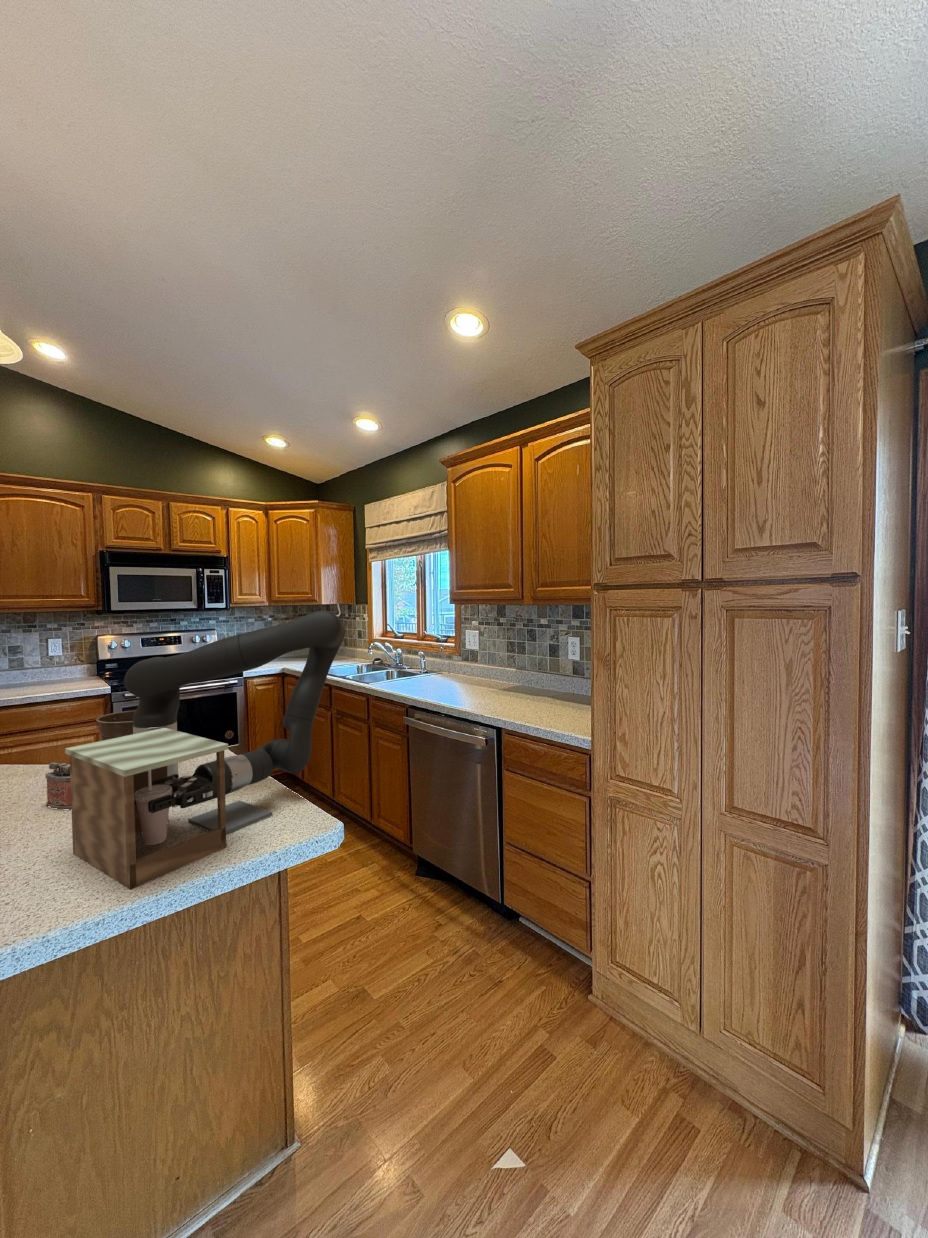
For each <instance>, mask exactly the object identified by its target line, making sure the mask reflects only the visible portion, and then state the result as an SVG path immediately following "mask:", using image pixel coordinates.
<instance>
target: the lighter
mask: <svg viewBox="0 0 928 1238" xmlns="http://www.w3.org/2000/svg"><path fill="white" fill-rule="evenodd" d="M48 769H49V770H53V771H49V772H47V773H45V779H46V793H47V794H46V796H47V799H46V801H47V802H46V803H45V804H46V807H47V806H50V807H51V808H57V809H71V780H70V764H69V765H68V763H67V762H63V763H59V762H50V763H49V765H48ZM51 808H50V809H51Z"/></svg>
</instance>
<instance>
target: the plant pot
mask: <svg viewBox="0 0 928 1238" xmlns="http://www.w3.org/2000/svg"><path fill="white" fill-rule="evenodd" d="M136 710H137V709H134V710H125V711H118V712H112V713H107V714H105V715H100V716H98V717H97V718H96V719H95V720H96V723H98V728H99V734H100V735H101V739H102V740H101V741H103V740H108V739H113V738H118V737H122V736H127V735H132V734H133V715H134V713H135V711H136Z"/></svg>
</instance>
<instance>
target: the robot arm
mask: <svg viewBox="0 0 928 1238" xmlns="http://www.w3.org/2000/svg"><path fill="white" fill-rule="evenodd" d="M345 635H346V629H345V625H344V623H343V621H341V619H340V617H339V616H338V615H337V614H335V613H334V612H333V611H329V610H324V609H323V610H316V611H314V612H311V613H308V614H305V615H303V616H300V617H298V618H295V619H293V620H290V621H288V622H285V623H281V624H277V625H273V626H267V627H263V628H259V629H255V630H252V631H251V630H250V631H247V632H242V633H239V634H234V635H231V636H227V637H224V638H221V639H219V640H215V641H213V642H210V643H208V644H204V645H201V646H199V647H197V648H194V649H192V650H189V651H187V652H182V653H180V654H175V655H171V656H166V657H164V656H155V657H151V658H146V659H143V660H139V661H137V662H136V663H134V664H133V665H131V667H129V669H128V670H127V671H126V672H125V675H124V678H123V683H124V687H125V689H126V691H127V692H128V693H130V694H131V695H133V696H135V697H136V698H137V697H138V698H139V701H138V705H137V708H136V709H135V710H136V711H135V713H134V715H133V734H137V733H142V732H147V731H152V730H156V729H161V728H168V729H172V730H176V731H178V722H177V721H178V719H177V718H178V711H179V708H180V696H181V695H180V694H181V692H180V689H181V687H183V686H185V685H189V684H193V683H196V682H201V681H206V680H214V679H218V678H224V677H228V676H232V675H238V674H240V673H245V672H247V671H251V670H254V669H257V668H260V667H263V666H264V665H267V664H269V663H271V662H272V661H274V660H277V659H278V658H280V657H282V656H283V655H286V654H289V653H291V652H292V653H293V652H295V651H300V650H304V649H308V655H307V659H306V661H305V662H306V663H305V664H304V667H303V669H302V671H301V674H300V676H299V678H298V680H297V681H296V684H295V685H294V688H293V689H292V692H291V694H290V697H289V700H288V703H287V707H286V710H285V713H284V716H283V721H282V725H283V727H284V729H286V730H288V731H289V739H287V738H279V739H274V740H271V741H269V742H266V743H265V744H263V745H261V746H260V747H258V748H256V749H255V750H251V751H248V752H243V753H241V754H237V755H230V756H227V757H224V759H225V796H226V795H228V794H232V793H234V792H237V791H239V790H241V789H244V788H246V787H247V786H251V785H255V784H257V783H259V782H261V781H264V780H267V778H269V777H270V776H271V775H272V773H273V770H276V769H277V770H280V771H283V772H285V773H289V774H293V775H295V774H300V773H301V772H302V771H303V770H305V768H306V767H307V766H308V764H309V762H310V759H311V755H312V746H313V745H312V743H313V741H312V739H313V725H314V721H315V718H316V715H317V711H318V708H319V705H320V701H321V698H322V694H323V691H324V687H325V684H326V681H327V678H328V675H329V672H330V670H331V667H332V664H333V663H334V659H335V658H336V656H337V653H338V651H339V649H340V648H341V645H342V644H343V641H344V639H345ZM167 775H168V777H165V778H162V779H159V780H156V781H153V782H151V783H152V786H154V785H169V786H171V787H172V791H173V792H172V794H171V795H166V796H163V797H160V798H157V799H154V800H151V801H149V803H148V809H149V812H151V813H155V812H157V811H160V810H163V809H166V808H169V809H170V808H178V807H180V809H186V808H189V807H193V806H196V805H199V804H202V803H206V802H209V801H212V800H214V799H217V760H216V759H215V760H212V761H210V762H206V763H202V764H200V765H197V767H196V769H195V770H194V772H193V774H192V775H182V776H179V763H175V764H171V765H167ZM134 793H135V792H134ZM135 804H136V801H134V805H135Z"/></svg>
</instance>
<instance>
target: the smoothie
mask: <svg viewBox="0 0 928 1238" xmlns="http://www.w3.org/2000/svg"><path fill="white" fill-rule="evenodd" d="M172 792H173V791H172V787H171V786H169V785H154V786H152V783H151V770H149V771H148V787H145V788H142V789H140V790H138V791H136V792H135V793H134V801H136V805H137V811H138V816H139V821H140V826H141V832H140V833H141V836H142V841H143V844H144V845H145V846H153V845H158V844H161V843H163V842H164V841H165V840H167V831H168V823H169V822H168V815H169V813H170V807H169V808H166V809H163V810H160V811H157V812H155V813H151V812H149V809H148V803H149V801H151V800H154V799H157V798H160V797H163V796H166V795H171V794H172Z"/></svg>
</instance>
